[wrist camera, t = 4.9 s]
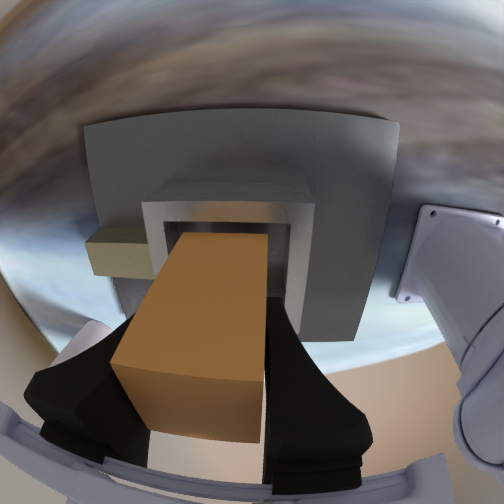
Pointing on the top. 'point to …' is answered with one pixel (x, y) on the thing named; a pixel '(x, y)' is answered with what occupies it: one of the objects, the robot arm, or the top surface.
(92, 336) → the smoothie
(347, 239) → the grey socket base
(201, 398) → the wedge pin
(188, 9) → the top surface
